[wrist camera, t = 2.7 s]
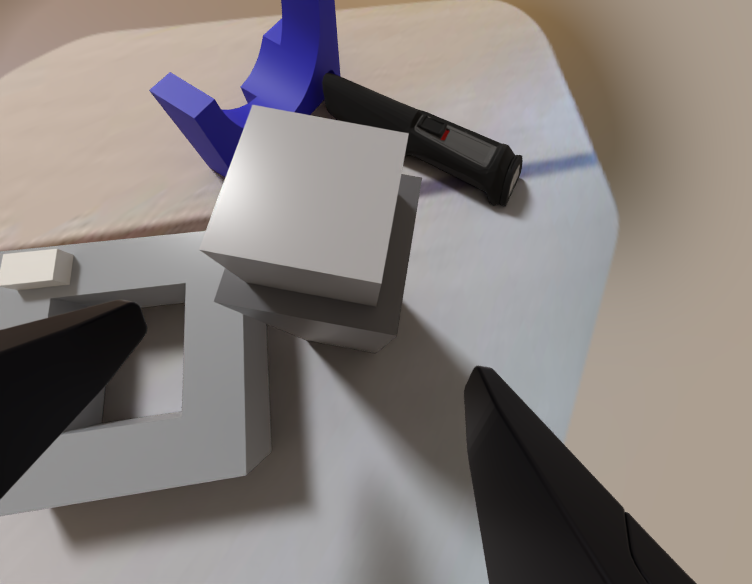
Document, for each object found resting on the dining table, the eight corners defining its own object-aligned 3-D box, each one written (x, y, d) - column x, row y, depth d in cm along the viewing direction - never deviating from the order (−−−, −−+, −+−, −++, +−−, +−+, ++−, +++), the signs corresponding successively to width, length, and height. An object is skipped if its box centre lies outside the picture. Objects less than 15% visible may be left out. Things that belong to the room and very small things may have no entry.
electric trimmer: (342, 94, 23) (338, 52, 20) (519, 175, 21) (544, 143, 18) (318, 127, 22) (309, 89, 19) (500, 214, 20) (524, 188, 17)
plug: (376, 353, 17) (410, 324, 5) (306, 340, 17) (151, 275, 5) (387, 285, 18) (441, 115, 6) (322, 273, 18) (232, 76, 6)
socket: (271, 451, 16) (238, 482, 11) (39, 488, 15) (-88, 537, 11) (263, 252, 19) (234, 220, 14) (69, 273, 18) (-22, 245, 13)
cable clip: (296, 58, 23) (273, -45, 17) (340, 83, 23) (333, -14, 17) (194, 158, 20) (127, 76, 14) (243, 189, 20) (194, 118, 14)
